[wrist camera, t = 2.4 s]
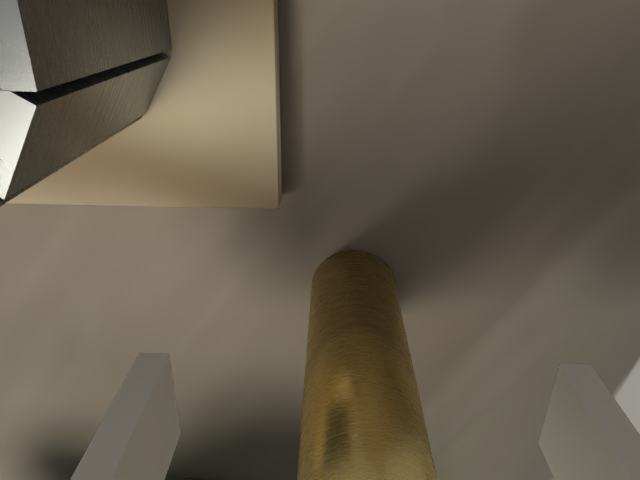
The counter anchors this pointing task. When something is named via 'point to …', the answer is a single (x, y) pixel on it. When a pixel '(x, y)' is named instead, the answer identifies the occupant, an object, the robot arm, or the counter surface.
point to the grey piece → (73, 79)
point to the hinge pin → (360, 379)
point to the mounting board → (194, 121)
